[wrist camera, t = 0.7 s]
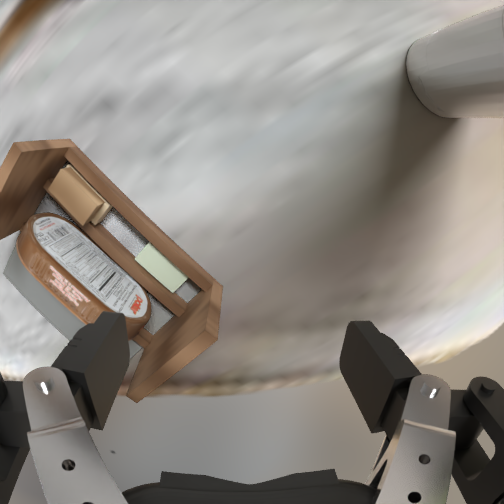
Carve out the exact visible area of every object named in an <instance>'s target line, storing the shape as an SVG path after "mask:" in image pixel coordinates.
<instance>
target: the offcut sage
mask: <svg viewBox="0 0 504 504" xmlns="http://www.w3.org/2000/svg"><path fill="white" fill-rule="evenodd" d="M135 260H136V261H137V262H138V263H139V264H140V265H141V266H143V267H144V268H145V269H146V270H147V271H148V272H149V273H150V274H151V275H153V276H154V277H155V278H156V279H157V280H158V281H159V282H161V283H162V284H163V285H164V286H165V287H166V288H167V289H169V290H170V291H171V292H172V293H174V292H175V291H176V290H177V289H178V288H179V287H180V286H181V285H182V284H183V283H184V282H185V281H186V280H187V279H188V278H189V277H188V276H187V275H185V274H184V273H183V272H182V271H181V270H180V269H179V268H178V267H177V266H175V265H174V264H173V263H172V262H171V261H170V260H169V259H168V258H167V257H166V256H165V255H163V254H162V253H161V252H160V251H159V250H158V249H157V248H156V247H155V246H154V245H153V244H152V243H151V242H149V243H148V244H147V245H146V246H145V247H144V249H143V250H142V251H141V252H140V253H139V254H138V255H137V257H136V258H135Z"/></svg>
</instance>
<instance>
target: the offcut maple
mask: <svg viewBox="0 0 504 504" xmlns="http://www.w3.org/2000/svg"><path fill="white" fill-rule="evenodd" d="M68 167H71V168H72V169H73V170H74V171H75V172H76V173H77V174H78V175H79V176H80V177H81V178H82V179H83V180H84V181H85V182H86V184H87V185H88V186H89V187H90V188H91V189H92V190H93V191H94V192H95V193H96V194H97V195H98V196H99V197H100V198H101V199H102V200H103V201H104V202H105V203H104V204H103V205H102V207H101V208H100V209H99V211H98V212H97V213H96V215H95V216H94V218H93V219H92V220H91V222H92V223H93V224H94V225H96V224H98V223H100V222H101V221H102V220H103V219H104V218H105V216H106V215H107V214H108V213H109V211H110V210H111V209H112V207H113V206H112V205H111V204H110V203H109V202H108V201H107V200H106V199H105V198H104V197H103V196H102V195H101V194H100V193H99V192H98V191H97V190H96V189H95V188H94V187H93V186H92V185H91V184H90V183H89V182H88V181H87V180H86V179H85V178H84V177H83V175H82V174H81V173H80V172H79V171H78V170H77V169H76V168H75V167H74V166H73V165H72V164H69V165H67V166H66V168H68Z"/></svg>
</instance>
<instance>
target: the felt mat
mask: <svg viewBox="0 0 504 504" xmlns="http://www.w3.org/2000/svg"><path fill="white" fill-rule="evenodd" d="M3 274H4V275H5V276H6V278H7V279H8V280H9V281H10V282H11V283H12V284H13V285H14V287H15V288H16V289H17V290H18V291H19V292H20V293H21V294H22V295H23V296H24V297H25V298H26V299H27V300H28V301H29V302H30V304H31V305H32V306H33V307H34V308H35V309H36V310H37V311H38V312H39V313H40V314H41V315H42V316H43V317H45V318H46V319H47V320H48V321H49V322H50V323H51V324H52V325H53V326H54V327H55V328H56V329H57V330H58V331H59V332H60V333H62V334H63V335H64V336H65V337H66V338H67V339H68V340H69V341H70V340H71V339H73V336H74V335H75V334H76V332H77V331H78V330H79V329H80V328H82V327H84V326H85V324H84V323H83V322H82V321H81V320H79V319H78V318H77V317H76V316H75V315H74V314H72V313H71V312H70V311H69V310H68V309H67V308H66V307H65V306H64V305H62V304H61V303H60V302H59V301H58V300H57V299H56V298H55V297H54V296H53V295H52V294H51V293H50V292H48V291H47V290H46V289H45V288H44V287H43V286H42V285H41V284H40V283H39V282H38V281H37V280H36V279H35V278H34V277H33V276H32V275H31V274H30V273H29V272H28V271H27V269H26V268H25V267H24V266H23V264H22V262H21V260H20V259H19V256H18V253H17V249H16V245H15V248H14V250H13V252H12V254H11V256H10V258H9V261H8V263H7V265H6V267H5V270H4V272H3ZM128 342H129V349H130V359H131V358H132V357H133V356H134V355H135V354H136V353H137V352H138V351H139V350H140V349H141V348H142V346H141V345H139V344H138V343H137V342H136V341H134V340H133V339H132V340H130V341H128Z"/></svg>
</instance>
